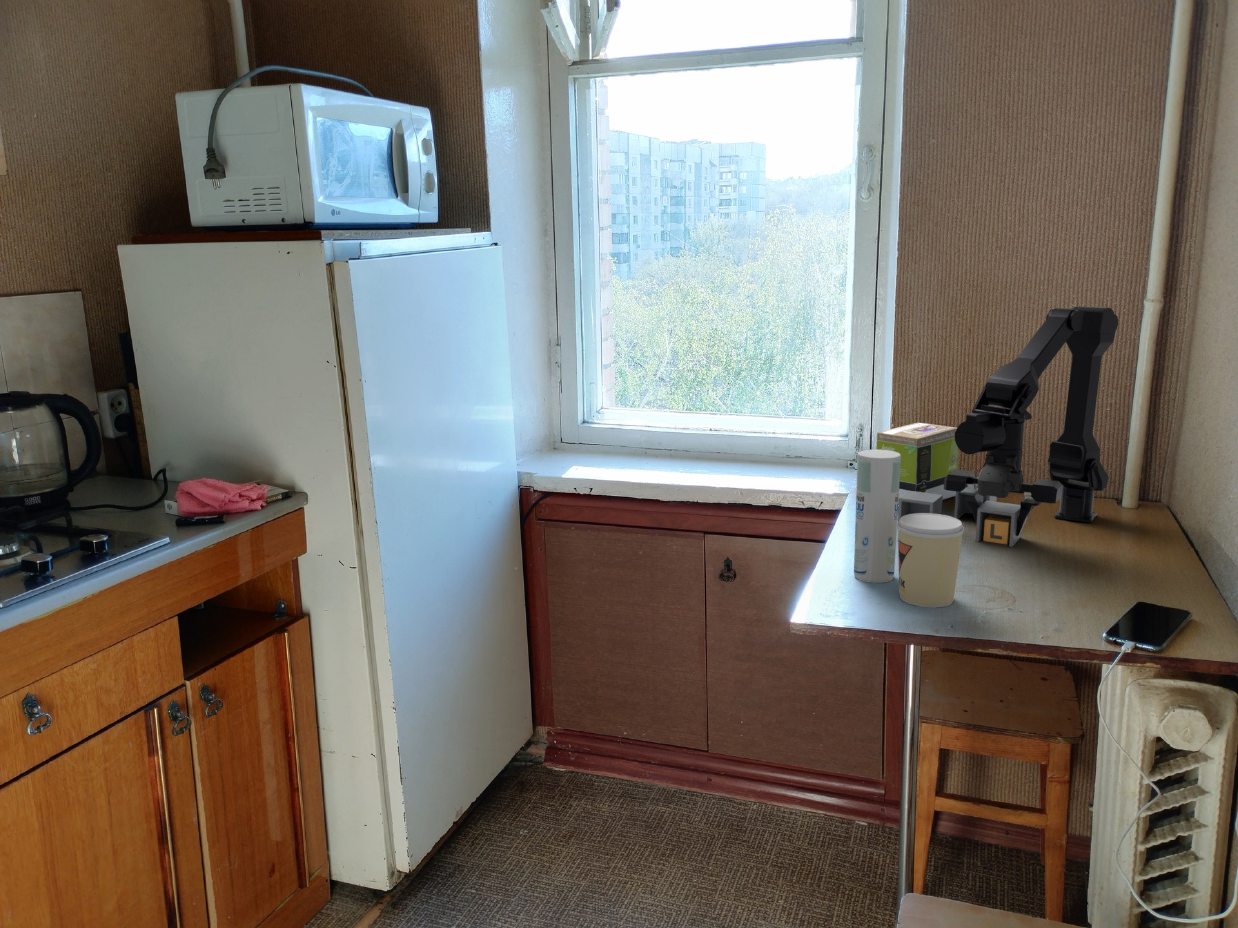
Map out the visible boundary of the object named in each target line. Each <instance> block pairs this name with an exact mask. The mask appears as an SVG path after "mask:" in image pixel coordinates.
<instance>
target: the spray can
mask: <svg viewBox="0 0 1238 928" xmlns="http://www.w3.org/2000/svg"><path fill="white" fill-rule="evenodd" d="M856 464H857V466H856V467H857V468H856V493H855V495H856V496H855V525H854V526H855V527H854V529H855V530H854V556H853V557H854V558H853V561H854V562H853V574H854V575H853V577H855V578H856V579H857V580H860V581H863V582H867V583H874V584H875V583H877V584H878V583H887V582H891V581H892V580H894V577H895V565H896V549H897V534H898V529H897V524H898V508H899V506H898V498H899V481H900V464H901V455H900V454H899V453H897V452H894V451H889V450H877V449H865V450H861V451H858V453H857V462H856Z"/></svg>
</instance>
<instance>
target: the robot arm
mask: <svg viewBox="0 0 1238 928" xmlns="http://www.w3.org/2000/svg"><path fill="white" fill-rule="evenodd" d="M1118 326H1119V317H1118V315H1117V314H1115V312H1114V310H1113V308H1111V307H1103V306H1085V305H1084V306H1082V305H1076V306H1074V307H1073V308H1069V307H1068V308H1067V307H1066V308H1065V307H1055V308H1052V309H1050V310H1049V311H1047V315H1046V317H1045V320H1044V322H1043V323H1041V326H1040V327H1038V330H1037V331H1036V332H1035V333H1034V334H1033V336H1032V337H1031V338H1030V340H1029V341H1028V343H1027V344H1026V345H1025V346H1024V348H1023V349H1022V350H1021V352H1020V353H1019V354H1018V355H1017V356H1016V357H1015V359H1014V360H1012V361H1011V362H1009V363H1006V364H1005V365H1002V366H1000V367H998V369H996V370H995V371H994V373H992V374H991V375H990V376H989V377H988V379H987V380H986V382H985V384H984V386H983V388H982V389H981V392H980V393H979V396H978V398H977V400H976V401H975V403H974V406H973V408H972V410H971V412H970V413H967V414H965V421H963V422H961V423H960V424H958V426H957V427H956V428H957V430H956V432H955V442H956V445H957V447H958V450H959V451H960V452H962V453H964V454H966V455H976V454H979V453H981V454H982V453H984V452H985V458H984V463H983V466H982V467H981V470H980V472H979V474H978V476H976V475H975V471H971V470H965V469H963V470H962V469H957V470H956V469H955V470H954V471H952V472H951V473H949V474H948V475H947V476H945V479H944V490H948V491H956V492H959V496H962V497H964V498H965V499H966V500H967V501H968V503H969V505H970V507H971V510H972V513H973V514H972V516H973V519H974V523H975V527H976V526H977V512H978V508H979V507H980V506H981V505H982V504H983V496H986V495H987V496H995V497H997V499H1004V498H1007V497H1008V496H1009V493H1014V494H1015V493H1016V494H1023V496H1024V497H1023V499H1022V500H1021V501H1020V503H1019V505H1020V513H1019V518H1018V523H1017V529H1016V536H1019V535H1020V533H1021V532H1022V531H1023V528H1024V527H1025V524H1026V523H1027V520H1028V518H1029V516H1030V514H1031V512H1032V511H1033V508H1035V507H1037V506H1040V505H1041V504H1042V503H1045V504H1057V502H1058V501H1059V508H1058V510H1057V511H1056V513H1055V514H1054V516H1053V517H1054V518H1055V519H1060V520H1061V519H1062V520H1067V521H1077V522H1083V523H1092V522H1093V520H1094V519H1095V518H1096V516H1097V514H1098V513H1097V512H1096V511H1094V510H1093V509H1094V499H1095V492H1096V491H1097V492H1098V491H1099V492H1102V491H1104V489H1106V488H1107V485H1108V482H1109V479H1110V477H1109V475H1108V474H1107V472H1106V469H1105V468H1104V467H1103V465H1102V463H1101V449H1100V446H1099V444H1098V442H1097V440H1096V439H1095V437H1094V434H1093V433H1094V432H1093V431H1094V425H1095V424H1094V423H1095V415H1096V406H1097V400H1098V391H1099V384H1100V382H1099V381H1100V373H1101V367H1102V366H1101V365H1102V359H1103V355H1104V354H1105V353H1106V352H1107V351H1108V350H1109V348H1110V347H1111V346H1112V344H1114V340H1115V337H1116V336H1115V335H1116V332H1117V329H1118ZM1065 343H1066V346H1067V347H1068V350H1069V351H1070V353H1071V363H1070V364H1071V365H1070V371H1069V381H1068V390H1067V396H1066V397H1067V398H1066V406H1065V415H1064V423H1063V424H1064V425H1063V431H1062V433H1061V435H1060V436H1059V437H1058V438H1057V439H1056V441H1054V440H1052V441H1051V443H1050V445H1049V456H1048V459H1047V463H1048V473H1049V477H1050V479H1042V478H1038V479H1037V480H1035V481H1034V483H1029V482H1024V474H1023V470H1022V458H1023V453H1024V451H1023V446H1024V436H1025V424H1026V423H1025V422H1026V421H1028V420H1031V419H1032V418H1033V416H1032V414H1031V413H1030V412H1029V411H1028V410H1026V409H1028V407H1030V406H1031V404H1032V403H1033V401H1034V400H1035V397H1036V395H1037V394H1038V393H1039V390H1040V383H1039V380H1040V377H1041V376H1042V374H1043V372H1044V371H1045V370H1046V369H1047V367H1049V365H1050V363H1051V362H1052V360H1053V359H1054V358H1055V357H1056V356H1057V354H1058V353H1059V352H1060V350H1061V349H1062V348H1063V346H1064V345H1065ZM1021 534H1022V533H1021ZM1020 536H1021V535H1020Z"/></svg>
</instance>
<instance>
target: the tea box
mask: <svg viewBox="0 0 1238 928" xmlns="http://www.w3.org/2000/svg"><path fill="white" fill-rule="evenodd" d="M957 428H958V427H953V426H948V425H939V424H931V423H924V422H914V423H909V424H907V425H903V426H902V425H901V426H899V427H895V428H890V429H888V430H887V429H885V430H883V431H878V432H877V433H876V450H889V451H894V452H897V453H899V454H900V455H901V464H900V481H899V498H900V497H901V496H903V495H904V494H906V493H907V492H909V491H916V492H923V493H931V494H939V495H943V501H944V500H947V499H950V498H953V497H956V491H948V490H944V479H945V476H947V475H948V474H949V473H951V472H952V471H954V470H955V469H956V470H959V469H958V467H959V466H958V465H959V448H958V447H957V445H956V442H955V432H956V430H957ZM899 498H898V505H899Z"/></svg>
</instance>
